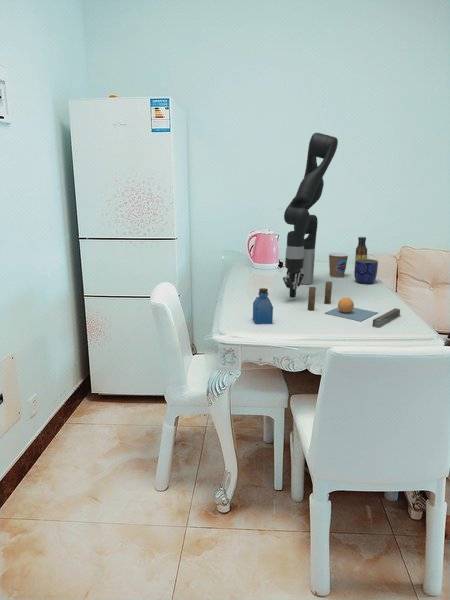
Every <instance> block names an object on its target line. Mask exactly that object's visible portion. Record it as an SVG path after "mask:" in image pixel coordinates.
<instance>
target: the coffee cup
mask: <svg viewBox="0 0 450 600" xmlns="http://www.w3.org/2000/svg"><path fill="white" fill-rule="evenodd" d="M348 256H349V254H348V253H346V252H345V253H344V252H329V253H328V261H329V263H328V264H329V265H328V267H329V276H330V277H331V278H334V279H335V278H336V279H340V278H341V279H342V278H344V277H345V272H346V270H347V269H346V268H347V263H348Z"/></svg>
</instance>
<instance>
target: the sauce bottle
mask: <svg viewBox="0 0 450 600" xmlns="http://www.w3.org/2000/svg"><path fill="white" fill-rule="evenodd" d="M357 240H358V243H357V246H356V248H355V254H354V255H355V257H354V261H355V260H356V259H368V248H367V245H366V241H367V237H366V236H358V237H357Z"/></svg>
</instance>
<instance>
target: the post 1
mask: <svg viewBox="0 0 450 600" xmlns="http://www.w3.org/2000/svg"><path fill="white" fill-rule="evenodd" d="M316 290H317V288H316V287H315V286H309V287H308V299H307V311H315V306H316V305H315V304H316Z"/></svg>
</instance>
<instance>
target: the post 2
mask: <svg viewBox="0 0 450 600" xmlns="http://www.w3.org/2000/svg"><path fill="white" fill-rule="evenodd" d="M324 288H325V289H324V301H323V303H324V304H326V305H331V303H332V302H331V301H332V290H333V281H325V287H324Z"/></svg>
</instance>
